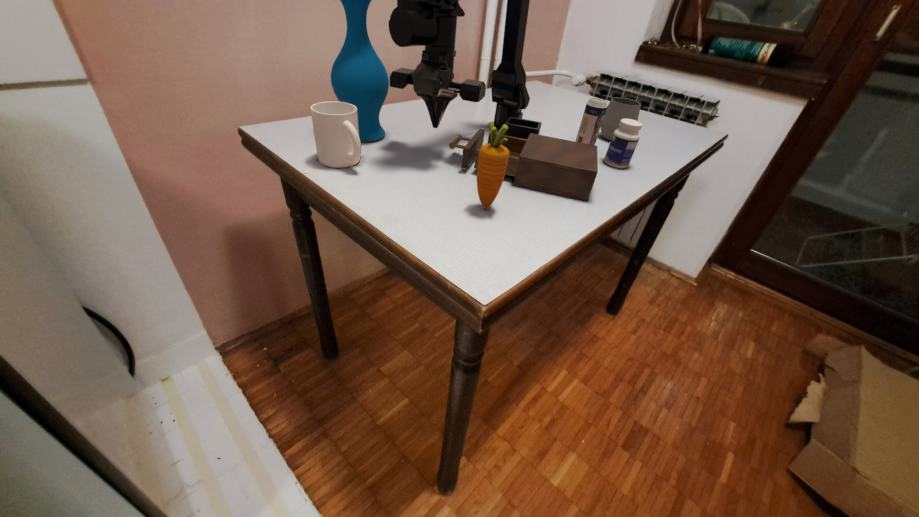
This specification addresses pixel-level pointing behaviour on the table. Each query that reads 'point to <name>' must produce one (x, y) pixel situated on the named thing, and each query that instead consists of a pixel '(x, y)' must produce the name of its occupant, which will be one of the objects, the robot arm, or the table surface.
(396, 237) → the table surface
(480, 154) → the carrot
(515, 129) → the black open box
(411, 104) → the table surface
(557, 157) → the cabinet
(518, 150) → the drawer
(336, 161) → the mug
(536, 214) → the table surface
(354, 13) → the vase
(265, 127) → the table surface
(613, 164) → the pill bottle
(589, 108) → the spice jar
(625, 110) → the cup
